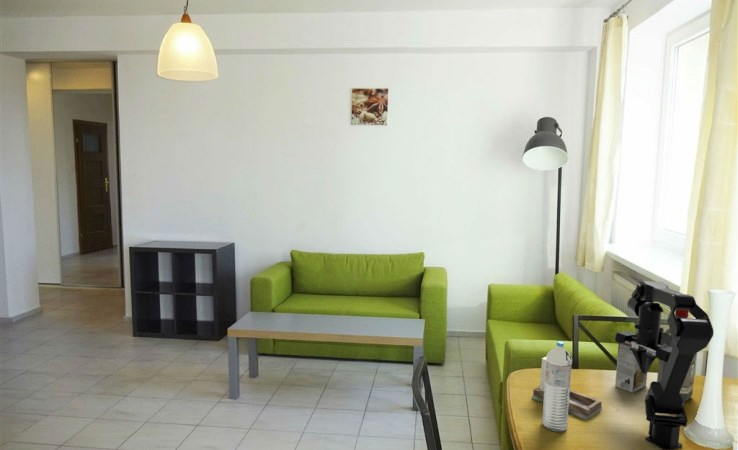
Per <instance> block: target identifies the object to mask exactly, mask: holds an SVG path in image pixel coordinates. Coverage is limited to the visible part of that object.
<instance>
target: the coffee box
mask: <svg viewBox="0 0 738 450" xmlns="http://www.w3.org/2000/svg"><path fill="white" fill-rule="evenodd" d="M617 347H618V348H617V349H618V350H617V359H616V361H617V362H616V371H615V372H616V373H615V384H614V386H615V387H616V388H619V389H622V390H625V391H628V392H629V393H635V392H637V391H638V390H641V389H642V388H645V387H647V379H648V377H647V376H648V372H647V373H646V374H643V373H642V372H641V369H640V367H639V365H638V362H637V360H636V358H635V356H634V354H633V352H632V351H631V350H630V348H632V343H630V342H628V341H625V343H623V344H621V343H618V346H617Z"/></svg>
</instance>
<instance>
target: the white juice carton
mask: <svg viewBox="0 0 738 450" xmlns="http://www.w3.org/2000/svg"><path fill="white" fill-rule="evenodd" d="M546 363H547V360H546V356H544V357H542V358H541V369H540V370H541V371H540V382H539V383H540V385H539V386H540V390H541V391H543V392H544V386H545V378H546Z"/></svg>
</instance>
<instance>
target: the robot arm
mask: <svg viewBox="0 0 738 450" xmlns="http://www.w3.org/2000/svg"><path fill="white" fill-rule="evenodd" d="M638 283H639V284H637V285H636V287H635V289H634V290H633V292H632V293H631V294H630V295H631V297H630V298H629V299H628V301H627V303H626V305H627V308H628V310H629V311H631V312H632V313H633V314H634V315H635V316H636V317H638V319H637V324H634V329H636V330H637V331H636V332H637V333H635V332H632V331H630V330H629V331H628V330H626V331H625V330H623V331H619V332H616V333H615V336H614V341H615V343H618V344H619V343H621V344H623V343H625V341H628V342H630V343H632V348H630V350H631V351H632V352H633V354H634V356H635V358H636V360H637V362H638V365H639V367H640V369H641V372H642V373H643V374H646V373H647V374H648V372H649V370H650V368H651V366H652V364H653V363H654V362H655V360H656V359H657V360H659V359H660V360H662V361H665V362H667V365H666V368H665V370H664V373H663V376H662V378H661V381H660V382H657V381H651V382H650V385H649V388H648V390H647V394H646V395H645V398H644V406H645V409H644V410H645V417H646V418H645V419H646V421H648V422H649V426H648V436H645V440H647V442H650V443H652V444H653V445H655V446H656V447H658V448H660V449H662V450H674V449H678V448H682V447H683V444H682V443H681V442H679V441H680V432H681V431H680V430H681V427H685V428H686V427H687V426H688V421H689V420H688V417H687V412H686V410H685V409H686V408H685V405H684V403H685V402H684V401H683V399H682V397H681V395H680V391H681V388H682V386H683V383H684V381H685V378H686V376H687V373H688V371H689V368H690V366H691V363H692V361H693V358H694V356H695V354H696V353H699V352H701V351H702V350H704V349H707V347H708V345H709V344H710V342H711V340H712V338H713V337H714V332H715V331H714V327H713V324H712V322H711V320H710V318H709V315H708V313H707V312H705V311H704V310H703V308H701V307H700V306H699V305H698V304H697V302H696V299H695V297H694V296H693V295H691V294H686V293H682V292H679V291H677V290H674V289H670V288H669V285H668V284H666V283H665V282H664V281H655V280H654V281H651V280H640V281H639V282H638ZM661 304H662V305H664V306H668V307H669V309H670V312H669V315H668V317H667V319H666V320H667V324H668V327H669V331H670V332H669V334H668V333H666V332H664V327H661V320H662V319H661V318H662V313H664V308H663V307H662V306H661ZM676 309H679V310H689V312H688V313H689V314H690V315H692V317H693V318H689V317H687V318H676V315H675V312H676ZM672 340H673V341H674V346H673V348H672V347H670V346H671V343H672ZM664 343H665V344H667V345H669V346H668V347H660V346H661V345H664ZM696 355H697V354H696Z"/></svg>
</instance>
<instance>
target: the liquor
mask: <svg viewBox="0 0 738 450" xmlns="http://www.w3.org/2000/svg"><path fill="white" fill-rule="evenodd" d="M689 313H690V312H689V310H679V309H676V310H675V312H674V314H675V317H676V318H689ZM668 346H669V345H667V344H665V343H664V345H659V347H668ZM673 346H674V341H673V340H672V343H671V346H670V347H672V348H673ZM697 353H698V352H697ZM697 353H696V354H695V356H694V358H693V361H692V363H691V366H690V368H689V371H688V373H687V376H686V378H685V381H684V383H683V386H682V388H681V391H680V395H681V397H682V399H683V401H684V403H686V402H688V400H689V399H691V398H692V396H693V394H694V393H693V391H694V381H695V373H696V363H697V362H696V361H697ZM666 365H667V362H665V361H662V360H660V359H658V366H657V367H658V369H657V378H656V379H657V380H656V382H660V381H661V378H662V376H663V373H664V370H665V368H666Z"/></svg>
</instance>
